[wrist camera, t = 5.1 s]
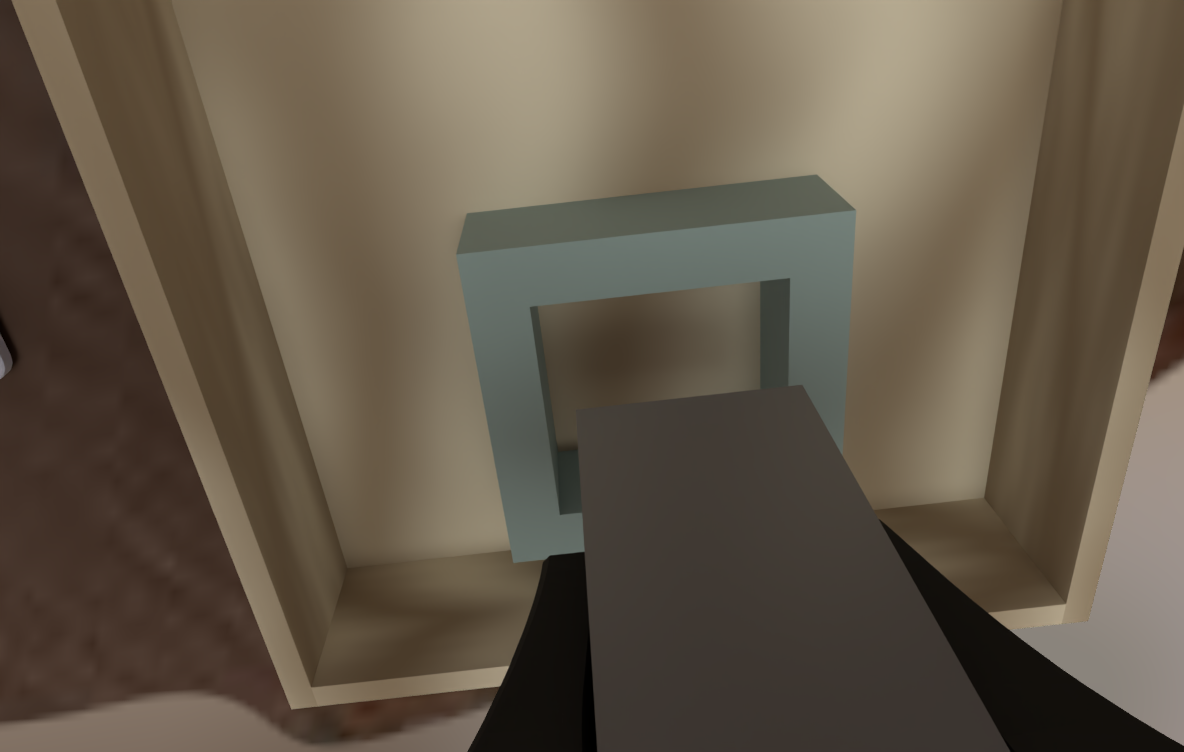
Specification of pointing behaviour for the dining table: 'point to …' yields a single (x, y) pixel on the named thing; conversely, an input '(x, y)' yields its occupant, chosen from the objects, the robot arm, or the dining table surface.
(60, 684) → the dining table surface
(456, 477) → the walled box
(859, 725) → the plug
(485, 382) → the socket
